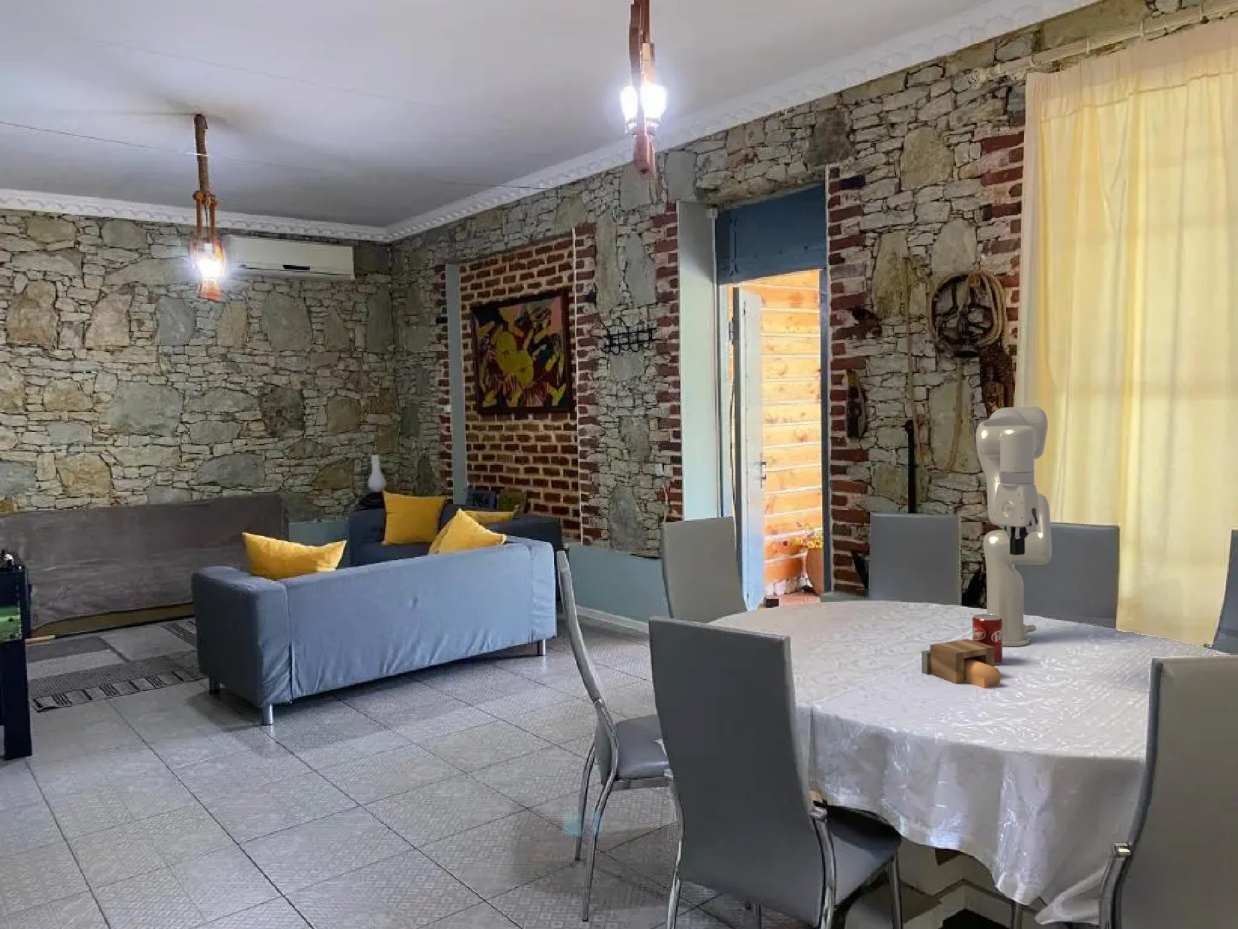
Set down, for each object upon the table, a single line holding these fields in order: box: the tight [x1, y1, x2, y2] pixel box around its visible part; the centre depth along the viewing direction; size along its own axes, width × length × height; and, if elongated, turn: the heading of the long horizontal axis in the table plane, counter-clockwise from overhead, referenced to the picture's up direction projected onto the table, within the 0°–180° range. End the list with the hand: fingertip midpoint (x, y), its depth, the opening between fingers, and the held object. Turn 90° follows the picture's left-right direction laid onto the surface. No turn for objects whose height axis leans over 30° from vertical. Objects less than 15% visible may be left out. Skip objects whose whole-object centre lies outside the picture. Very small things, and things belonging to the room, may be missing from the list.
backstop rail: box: [921, 649, 931, 676], centre depth 233 cm, size 14×2×6 cm, turn 112°
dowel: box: [964, 658, 1001, 689], centre depth 224 cm, size 12×5×5 cm, turn 21°
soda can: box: [971, 613, 1004, 666], centre depth 238 cm, size 7×7×12 cm
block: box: [929, 638, 995, 685], centre depth 228 cm, size 12×9×8 cm
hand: (1017, 554), depth 221 cm, fingers closed
